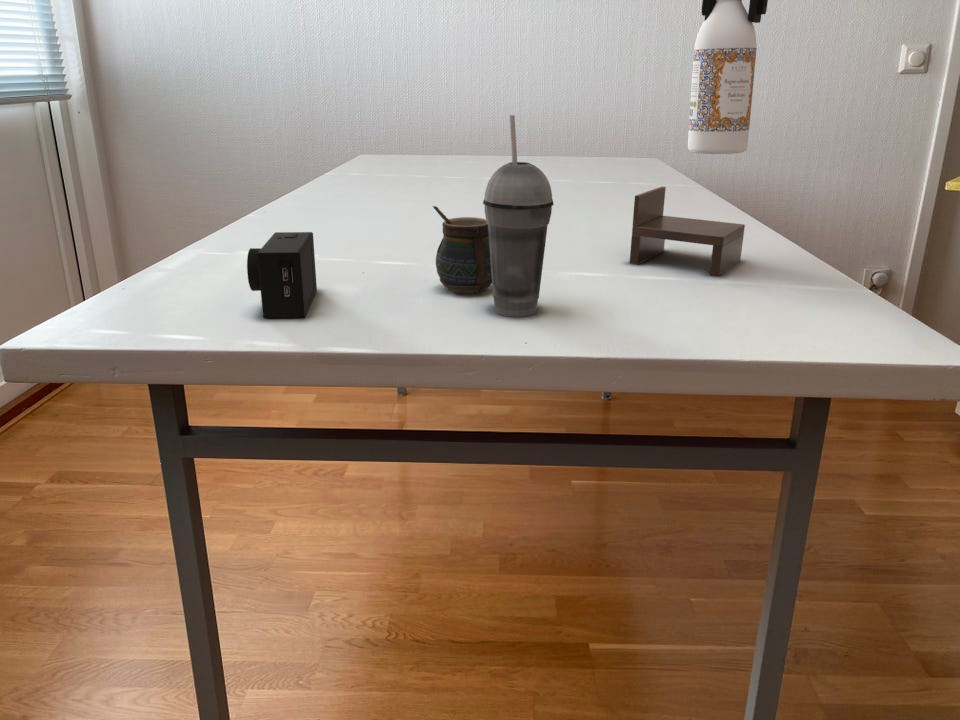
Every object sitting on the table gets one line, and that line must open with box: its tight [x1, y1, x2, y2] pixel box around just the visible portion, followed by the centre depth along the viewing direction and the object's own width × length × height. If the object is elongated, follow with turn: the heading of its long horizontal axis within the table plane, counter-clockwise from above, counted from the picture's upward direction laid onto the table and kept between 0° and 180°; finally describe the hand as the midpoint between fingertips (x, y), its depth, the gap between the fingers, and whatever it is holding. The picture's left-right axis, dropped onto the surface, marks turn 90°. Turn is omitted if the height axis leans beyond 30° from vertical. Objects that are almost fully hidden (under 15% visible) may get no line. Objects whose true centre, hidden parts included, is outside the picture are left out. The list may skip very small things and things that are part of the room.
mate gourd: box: [432, 205, 492, 294], centre depth 89 cm, size 7×8×10 cm
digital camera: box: [246, 231, 318, 319], centre depth 84 cm, size 10×5×7 cm, turn 4°
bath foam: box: [687, 0, 758, 155], centre depth 91 cm, size 7×7×20 cm
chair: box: [629, 186, 746, 277], centre depth 103 cm, size 12×10×9 cm
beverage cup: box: [482, 114, 555, 318], centre depth 80 cm, size 7×7×20 cm
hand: (732, 20), depth 89 cm, fingers closed on bath foam, 4 cm apart
